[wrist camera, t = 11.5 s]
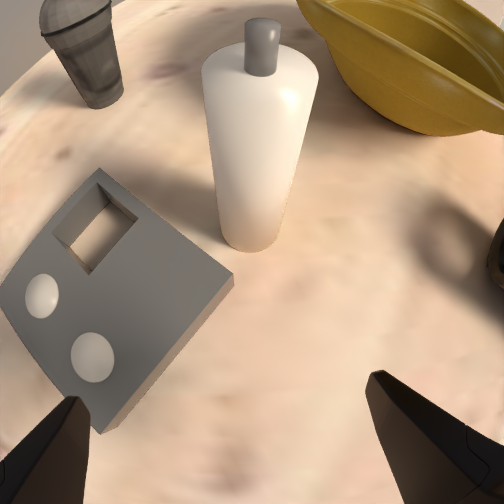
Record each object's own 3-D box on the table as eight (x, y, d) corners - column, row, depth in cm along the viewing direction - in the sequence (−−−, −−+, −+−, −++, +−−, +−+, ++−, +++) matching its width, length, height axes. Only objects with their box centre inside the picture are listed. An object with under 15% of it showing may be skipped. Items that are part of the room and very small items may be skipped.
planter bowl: (396, 263, 22) (509, 171, 10) (222, 45, 32) (220, -46, 19) (526, 162, 29) (576, 109, 16) (391, 25, 38) (411, -32, 25)
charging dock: (117, 426, 17) (99, 435, 14) (15, 303, 20) (-7, 295, 17) (234, 285, 21) (233, 273, 18) (111, 187, 24) (98, 166, 21)
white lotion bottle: (255, 264, 22) (281, 73, 7) (208, 229, 23) (169, 32, 8) (290, 220, 23) (349, 30, 8) (245, 190, 24) (251, -5, 9)
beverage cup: (77, 91, 29) (25, -40, 10) (131, 69, 30) (97, -71, 11) (77, 127, 26) (5, -26, 8) (139, 102, 28) (94, -68, 9)
